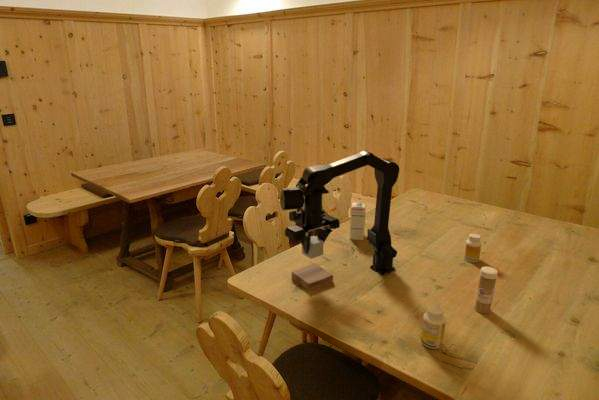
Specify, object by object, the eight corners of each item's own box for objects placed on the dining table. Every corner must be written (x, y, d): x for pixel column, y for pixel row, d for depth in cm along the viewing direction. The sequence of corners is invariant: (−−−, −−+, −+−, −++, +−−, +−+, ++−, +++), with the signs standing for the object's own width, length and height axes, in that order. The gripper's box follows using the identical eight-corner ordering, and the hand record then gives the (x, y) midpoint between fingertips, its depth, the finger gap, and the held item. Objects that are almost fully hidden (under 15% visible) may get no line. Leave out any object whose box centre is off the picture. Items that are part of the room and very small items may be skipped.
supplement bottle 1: (435, 335, 110) (440, 302, 106) (446, 348, 104) (451, 314, 101) (416, 337, 109) (420, 304, 105) (426, 351, 103) (430, 317, 100)
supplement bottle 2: (480, 263, 148) (484, 239, 145) (464, 262, 149) (468, 238, 146) (477, 256, 153) (481, 233, 150) (462, 255, 154) (465, 232, 151)
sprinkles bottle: (472, 310, 120) (478, 270, 116) (477, 303, 124) (483, 264, 119) (488, 316, 118) (495, 275, 113) (492, 309, 121) (500, 269, 117)
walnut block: (332, 282, 136) (333, 275, 135) (309, 292, 130) (309, 284, 129) (314, 271, 144) (314, 263, 143) (291, 279, 138) (291, 271, 137)
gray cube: (323, 254, 133) (323, 240, 132) (311, 258, 130) (311, 244, 129) (313, 249, 137) (313, 235, 135) (301, 253, 134) (301, 239, 133)
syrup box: (363, 240, 167) (365, 207, 162) (349, 239, 168) (350, 206, 163) (364, 234, 172) (366, 202, 167) (350, 233, 173) (351, 201, 168)
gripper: (319, 194, 140) (318, 236, 145) (274, 206, 129) (275, 250, 134) (341, 203, 131) (340, 247, 136) (295, 216, 121) (295, 262, 126)
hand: (312, 251), depth 133 cm, fingers closed on gray cube, 5 cm apart
